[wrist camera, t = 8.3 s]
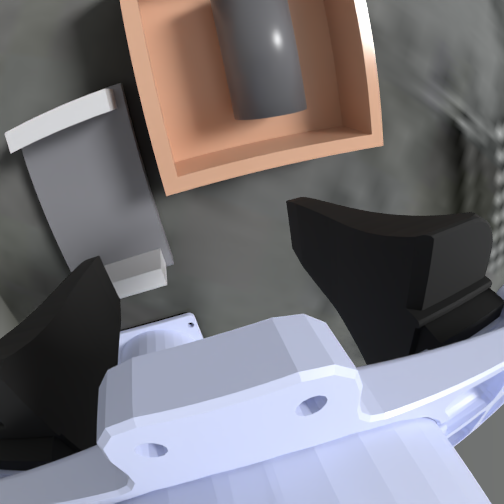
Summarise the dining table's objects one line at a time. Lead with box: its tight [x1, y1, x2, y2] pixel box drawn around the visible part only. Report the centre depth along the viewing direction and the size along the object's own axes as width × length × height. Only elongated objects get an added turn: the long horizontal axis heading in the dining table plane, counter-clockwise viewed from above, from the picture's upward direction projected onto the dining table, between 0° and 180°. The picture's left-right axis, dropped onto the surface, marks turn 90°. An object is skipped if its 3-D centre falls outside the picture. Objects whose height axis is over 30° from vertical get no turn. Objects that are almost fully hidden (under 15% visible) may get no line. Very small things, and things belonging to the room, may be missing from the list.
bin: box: [120, 0, 383, 196], centre depth 15 cm, size 13×13×4 cm
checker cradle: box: [5, 83, 174, 298], centre depth 17 cm, size 12×7×4 cm, turn 10°
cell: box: [210, 0, 307, 120], centre depth 14 cm, size 8×4×4 cm, turn 10°
